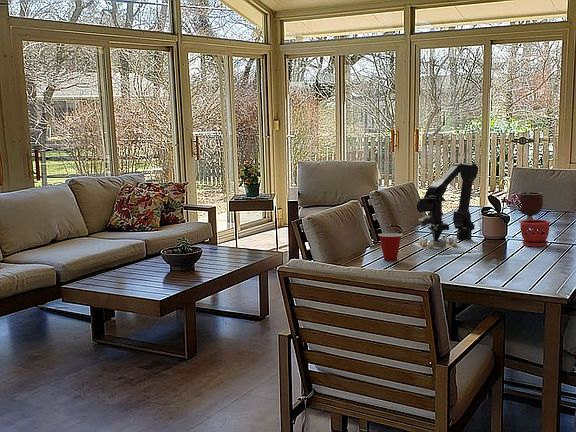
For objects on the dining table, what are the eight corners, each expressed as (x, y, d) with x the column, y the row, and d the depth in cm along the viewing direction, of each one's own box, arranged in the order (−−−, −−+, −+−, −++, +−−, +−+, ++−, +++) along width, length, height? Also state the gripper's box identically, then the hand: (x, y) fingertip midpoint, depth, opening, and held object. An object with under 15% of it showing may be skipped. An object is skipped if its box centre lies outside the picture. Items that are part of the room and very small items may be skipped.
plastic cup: (404, 257, 293) (404, 231, 291) (400, 262, 283) (400, 236, 281) (380, 256, 296) (380, 231, 295) (376, 261, 286) (375, 235, 285)
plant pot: (549, 243, 314) (550, 219, 312) (548, 248, 302) (548, 223, 300) (521, 242, 319) (521, 218, 318) (518, 247, 308) (519, 222, 306)
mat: (461, 248, 308) (461, 248, 308) (471, 252, 298) (471, 252, 298) (426, 251, 304) (426, 250, 304) (435, 255, 295) (435, 254, 295)
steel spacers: (447, 241, 321) (447, 234, 320) (460, 246, 308) (460, 239, 307) (416, 243, 318) (416, 236, 317) (427, 248, 305) (427, 241, 304)
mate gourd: (521, 219, 387) (521, 186, 384) (545, 221, 379) (545, 187, 376) (513, 223, 374) (513, 189, 371) (537, 224, 366) (538, 190, 363)
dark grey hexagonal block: (443, 243, 315) (443, 238, 314) (448, 246, 309) (448, 241, 309) (430, 245, 313) (430, 240, 313) (435, 247, 307) (435, 242, 307)
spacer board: (449, 243, 323) (449, 240, 322) (463, 248, 308) (463, 246, 308) (412, 245, 319) (412, 243, 319) (424, 251, 304) (424, 249, 304)
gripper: (413, 208, 320) (412, 239, 322) (427, 214, 302) (427, 246, 304) (433, 207, 322) (433, 238, 324) (450, 212, 304) (449, 245, 306)
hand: (435, 241), depth 315 cm, fingers closed
